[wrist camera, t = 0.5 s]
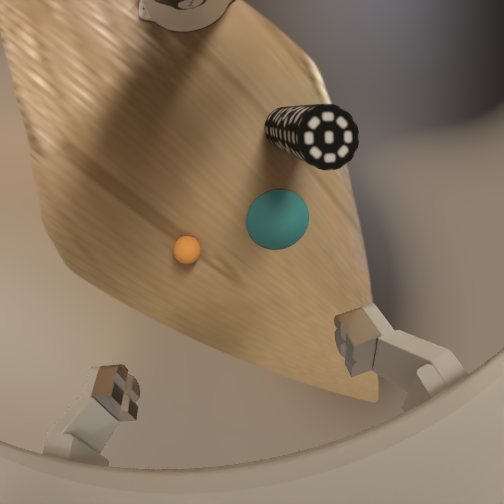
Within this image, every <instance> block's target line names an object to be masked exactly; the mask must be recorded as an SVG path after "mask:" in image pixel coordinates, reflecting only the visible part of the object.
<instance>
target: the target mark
mask: <svg viewBox="0 0 504 504" xmlns="http://www.w3.org/2000/svg"><path fill="white" fill-rule="evenodd" d="M246 221H247V229H248V232H249V234H250V236H251V238H252V239H253V240H254V241H255V242H256V243H257V244H259V245H260V246H262V247H264V248H268V249H283V248H286V247H289V246H291V245H293V244H294V243H296V242H297V241H298V240H299V239H300V238H301V237H302V236H303V234H304V233H305V231H306V229H307V226H308V222H309V212H308V208H307V206H306V204H305V202H304V201H303V200H302V199H301V198H300V197H299V196H298V195H297V194H295V193H293V192H291V191H287V190H272V191H269V192H267V193H264V194H263V195H261V196H260V197H258V198H257V199H256V200H255V201H254V202H253V204H252V205H251V207H250V209H249V211H248V214H247V220H246Z"/></svg>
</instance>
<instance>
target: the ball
mask: <svg viewBox="0 0 504 504" xmlns="http://www.w3.org/2000/svg"><path fill="white" fill-rule="evenodd" d="M200 253H201V247H200V244H199V242H198V241H197V240H196V239H195V238H193V237H191V236H183V237H180V238H179V239H178V240H177V241H176V242H175V244H174V246H173V254H174V256H175V258H176V259H177V260H178V261H179V262H181V263H183V264H191V263H193V262H195V261H196V260H197V259H198V258H199V256H200Z"/></svg>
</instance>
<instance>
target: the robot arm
mask: <svg viewBox="0 0 504 504" xmlns="http://www.w3.org/2000/svg"><path fill="white" fill-rule="evenodd" d="M231 1H233V0H139V17H140V18H141V19H143V20H149V21H154V22H156V23H157V24H159V25H160V26H162V27H164V28H166V29H169V30H173V31H193V30H197V29H201V28H204V27H206V26H208V25H210V24H212V23H213V22H215V21H216V20H217V19H218V18H219V17H220V16H221V15H222V14H223V13H224V11H225V10H226V8H227V6H228V4H229V3H230V2H231ZM144 8H145V10H144ZM334 324H335V326H336V328H337V329H336V331H335V341H336V345H337V348H338V351H339V353H340V355H341V356H343V357H345V365H346V367H347V369H348V371H349V373H350V375H351V377H353V376H356V375H359V374H362V373H365V372H368V371H370V370H373V371H374V372H375V373H377V374H379V375H380V376H382V377H383V378H385V379H387V380H388V381H390V382H392V383H393V384H395V385H396V386H398V387H400V388H401V389H403V390H405V391H406V392H408V394H407V397H406V399H405V401H404V403H403V405H402V409H403V411H404V413H402V414H400V415H398V416H396V417H393V418H392V419H389V420H387V421H385V422H383V423H380V424H378V425H376V426H373V427H371V428H368V429H366V430H363V431H361V432H358V433H356V434H353V435H350V436H347V437H345V438H343V439H339V440H336V441H333V442H330V443H327V444H324V445H320V446H317V447H314V448H310V449H307V450H303V451H299V452H295V453H292V454H287V455H283V456H278V457H274V458H269V459H264V460H259V461H253V462H247V463H241V464H233V465H225V466H217V467H207V468H192V469H134V468H119V467H109V461H108V459H106V458H105V457H103V456H101V455H100V453H101V451H102V449H103V448H104V446H105V445H106V443H107V442H108V440H109V438H110V437H111V435H112V434H113V432H114V431H115V429H116V427H117V426H118V424H119V423H120V422H119V421H135V420H136V419H137V412H138V406H137V404H136V402H137V400H138V399H139V398H140V388H139V384H138V382H137V380H136V379H135V378H134V376H132V375H130V374H128V369H127V368H126V367H125V365H121V364H120V365H110V366H100V367H92V368H91V369H90V370H89V373H88V376H87V380H86V383H85V386H84V389H83V393H82V396H81V398H78V399H77V400H76V401H75V402H74V403H73V404H72V405H71V407H69V409H68V410H67V411H66V412H65V413H64V414H63V415H62V416H61V417H60V418H59V419H58V420H57V422H56V423H55V424H54V425H53V426H52V427H51V428H50V429H49V430H48V434H47V438H46V442H45V446H44V450H43V454H39V453H36V452H32V451H29V450H25V449H22V448H19V447H16V446H13V445H10V444H7V443H5V442H2V441H0V504H504V348H503V349H502V350H500V351H499V352H498V353H497V354H496V355H494V356H493V357H492V358H490V359H489V360H488V361H486V362H485V363H484V364H483V365H481V366H480V367H479V368H477V369H476V370H474V371H473V372H471V373H470V374H469V375H468V373H467V372H466V371H465V369H464V368H463V367H462V365H461V364H460V363H459V361H458V360H457V359H456V357H455V356H454V355H453V354H452V352H451V351H450V350H448V349H445V348H443V347H440V346H438V345H435V344H433V343H430V342H428V341H425V340H423V339H420V338H418V337H415V336H413V335H410V334H408V333H405V332H403V331H400V330H396V331H394V329H393V328H392V327H391V325H390V324H389V323H388V321H387V320H386V319H385V317H384V316H383V314H382V313H381V312H380V311H379V309H378V308H377V307H376V305H375V304H373V303H371V304H368V305H365V306H362V307H360V308H357V309H354V310H351V311H348V312H345V313H342V314H339V315H336V316H335V318H334Z"/></svg>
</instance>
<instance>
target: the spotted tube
mask: <svg viewBox="0 0 504 504" xmlns="http://www.w3.org/2000/svg"><path fill="white" fill-rule="evenodd" d="M265 133H266V136H267V138H268V140H269V141H270V142H271V143H272V144H273V145H274V146H276V147H278V148H280V149H282V150H284V151H285V152H287V153H289V154H291V155H293V156H295V157H297V158H299V159H301V160H302V161H304V162H306V163H308V164H310V165H312V166H314V167H316V168H318V169H322V170H335V169H338V168H341V167H343V166H344V165H346V164H347V163H348V162H349V161H350V160H351V159H352V157H353V156H354V155H355V153H356V151H357V148H358V144H359V131H358V127H357V124H356V122H355V120H354V119H353V117H352V116H351V115H350V114H349V113H348V112H347V111H346V110H345V109H343V108H341V107H339V106H336V105H333V104H314V105H300V106H288V107H281V108H278V109H276V110H274V111H273V112H272V113H270V115H269V116H268V117H267V120H266V123H265Z"/></svg>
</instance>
